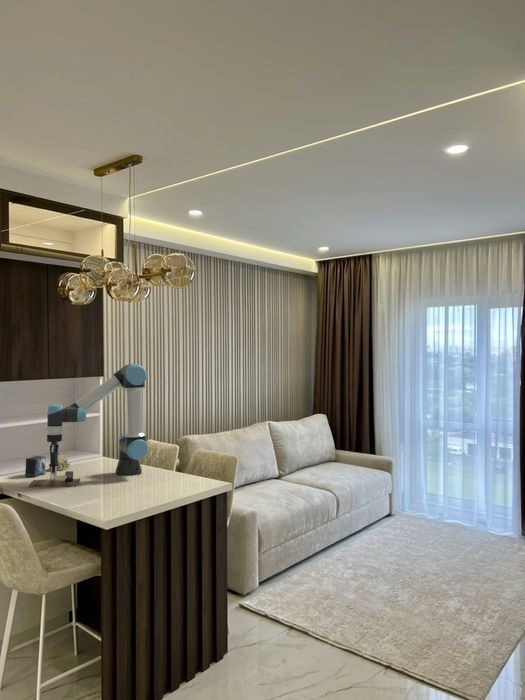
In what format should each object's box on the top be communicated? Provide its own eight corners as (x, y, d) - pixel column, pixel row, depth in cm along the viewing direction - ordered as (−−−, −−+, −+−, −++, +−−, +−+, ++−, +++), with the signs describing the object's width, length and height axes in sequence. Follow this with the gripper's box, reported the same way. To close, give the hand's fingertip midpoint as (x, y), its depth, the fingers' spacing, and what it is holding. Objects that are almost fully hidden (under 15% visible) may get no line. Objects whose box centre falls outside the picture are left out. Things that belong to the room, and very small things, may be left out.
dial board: (80, 481, 293) (80, 478, 294) (77, 486, 281) (77, 483, 281) (33, 482, 289) (33, 479, 289) (28, 487, 276) (28, 484, 276)
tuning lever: (71, 479, 289) (71, 470, 289) (74, 480, 286) (74, 471, 286) (48, 482, 281) (48, 473, 281) (51, 483, 278) (51, 474, 278)
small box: (34, 477, 301) (35, 459, 302) (24, 477, 302) (25, 458, 303) (46, 474, 312) (46, 456, 312) (36, 473, 313) (36, 455, 313)
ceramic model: (61, 472, 319) (62, 455, 319) (44, 471, 320) (44, 454, 321) (73, 468, 332) (73, 451, 333) (56, 467, 334) (57, 451, 334)
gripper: (49, 432, 291) (48, 476, 290) (44, 435, 278) (43, 481, 278) (63, 432, 293) (62, 475, 292) (60, 435, 280) (59, 480, 279)
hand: (53, 478), depth 285 cm, fingers closed
